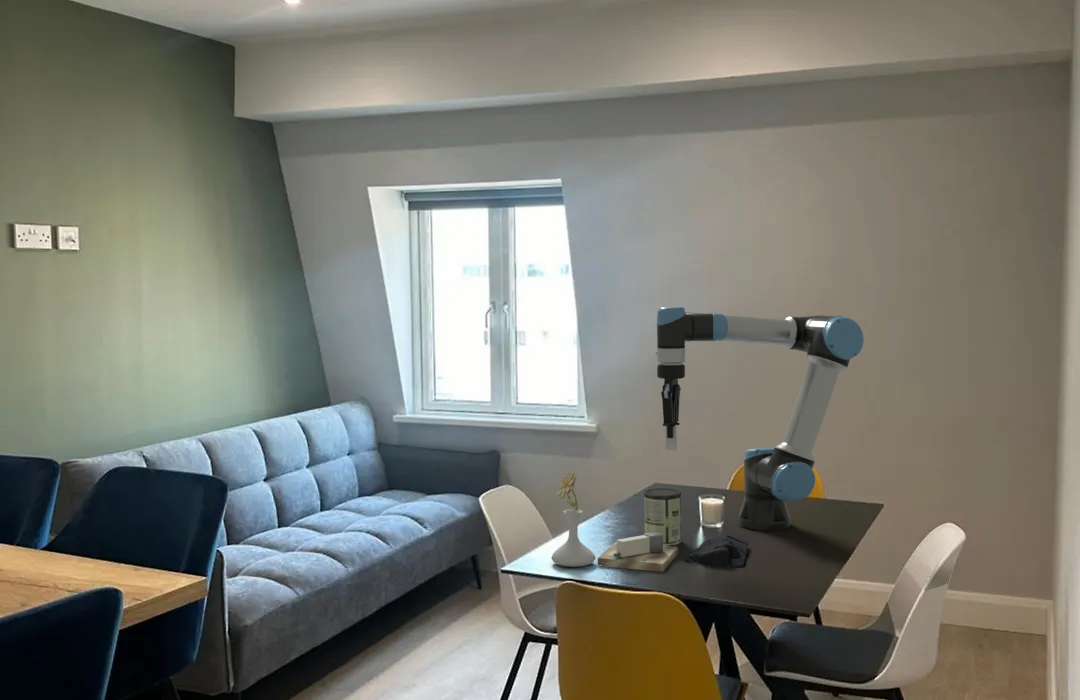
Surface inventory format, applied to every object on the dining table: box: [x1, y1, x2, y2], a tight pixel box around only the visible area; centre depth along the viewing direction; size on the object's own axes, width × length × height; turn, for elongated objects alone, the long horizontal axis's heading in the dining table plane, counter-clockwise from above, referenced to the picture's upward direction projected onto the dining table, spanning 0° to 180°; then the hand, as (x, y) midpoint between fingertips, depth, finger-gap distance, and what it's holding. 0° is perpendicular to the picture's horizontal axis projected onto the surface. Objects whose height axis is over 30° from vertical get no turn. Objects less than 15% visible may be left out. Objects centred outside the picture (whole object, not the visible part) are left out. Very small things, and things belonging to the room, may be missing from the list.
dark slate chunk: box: [684, 534, 749, 568], centre depth 264 cm, size 15×22×5 cm
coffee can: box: [643, 487, 682, 546], centre depth 278 cm, size 10×10×14 cm
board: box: [597, 541, 679, 573], centre depth 260 cm, size 17×18×2 cm
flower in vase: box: [551, 470, 597, 568], centre depth 255 cm, size 13×11×25 cm
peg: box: [614, 532, 663, 557], centre depth 258 cm, size 15×5×4 cm, turn 121°
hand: (671, 449), depth 274 cm, fingers closed
